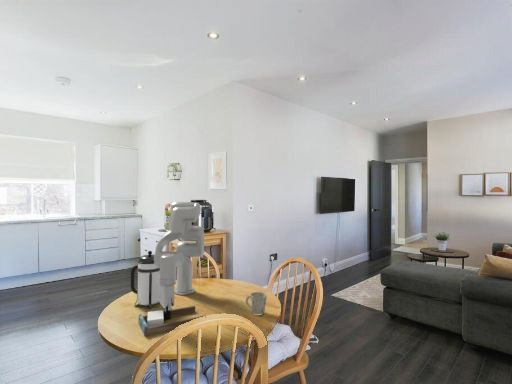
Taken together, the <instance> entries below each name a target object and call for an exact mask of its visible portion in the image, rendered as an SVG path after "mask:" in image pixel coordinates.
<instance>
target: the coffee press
mask: <svg viewBox="0 0 512 384" xmlns="http://www.w3.org/2000/svg"><path fill="white" fill-rule="evenodd" d="M154 255H155V254H154V253H153V251H151V250H148V252H147V254H144V255H142V256H140V257H138V260H137V264H136V265H135V266H133V267H132V268H131V271H130V289H131V292H132V293H134V294H136V301H135V303H134V307H138V306H139V305H141V306H148V310H149V309H150V310H151V309H152V306H153V305H155V304H158V303H160V302H159V296H160V266H156V265H155V263H154ZM136 270H137V275H136V276H137V278H136V281H137V282H136V287H135V272H136ZM136 288H137V289H136ZM137 303H138V304H137Z"/></svg>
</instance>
